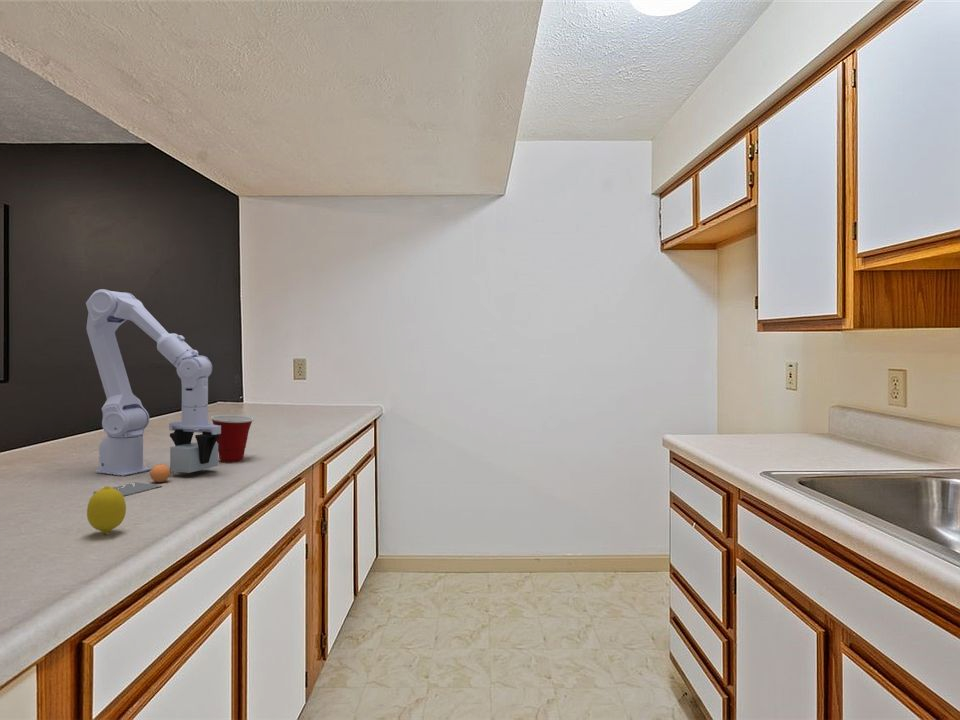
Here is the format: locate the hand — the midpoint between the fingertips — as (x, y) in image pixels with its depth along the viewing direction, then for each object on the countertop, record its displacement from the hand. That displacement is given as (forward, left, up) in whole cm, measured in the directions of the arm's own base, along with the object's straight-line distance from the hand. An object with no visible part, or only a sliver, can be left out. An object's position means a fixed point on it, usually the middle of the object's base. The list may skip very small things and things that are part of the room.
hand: (194, 461), depth 146 cm
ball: (0, -10, -1) cm, 10 cm away
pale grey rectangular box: (0, 0, -2) cm, 2 cm away
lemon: (+23, -40, -3) cm, 46 cm away
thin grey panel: (0, -18, -3) cm, 18 cm away
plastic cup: (-4, +16, -3) cm, 17 cm away
